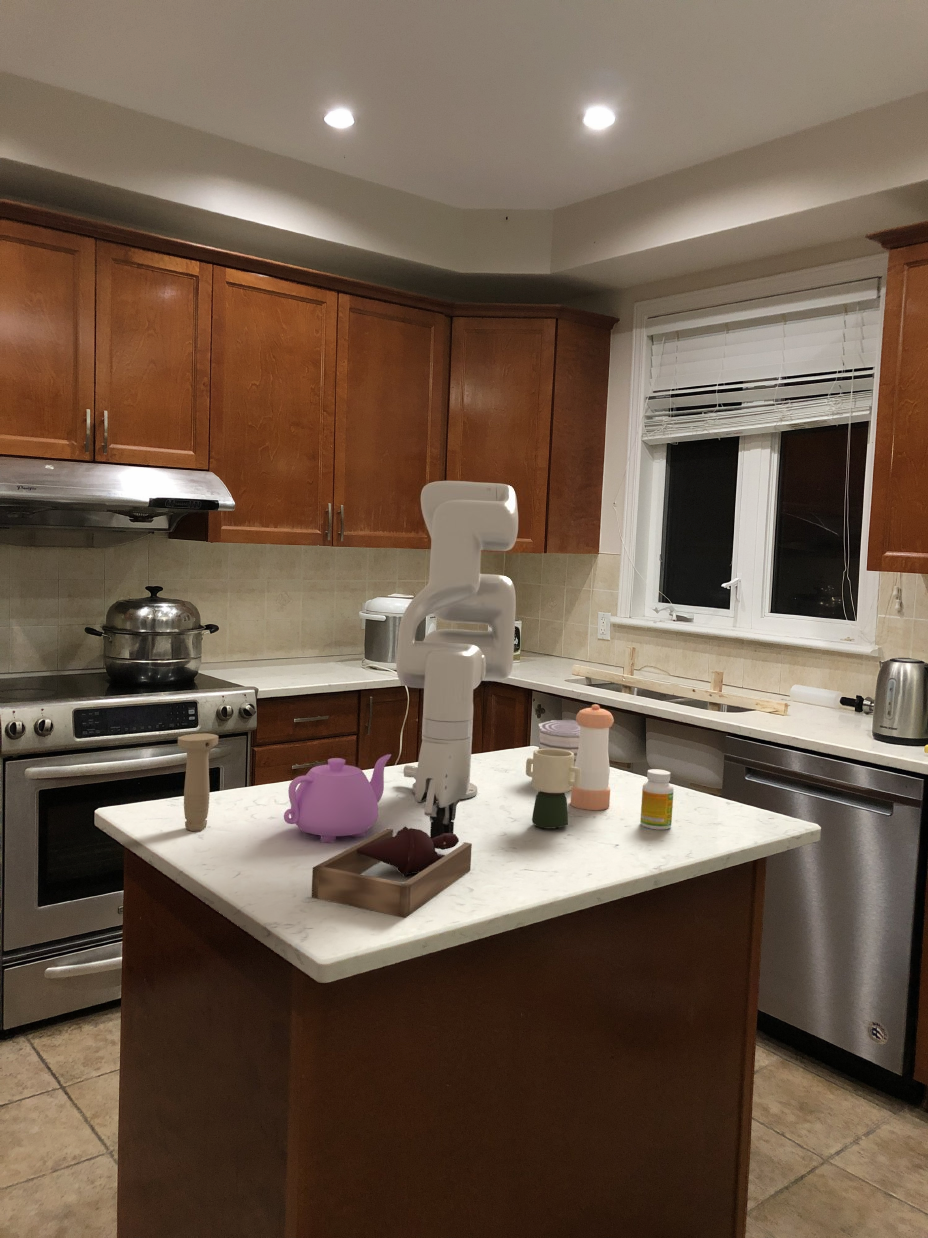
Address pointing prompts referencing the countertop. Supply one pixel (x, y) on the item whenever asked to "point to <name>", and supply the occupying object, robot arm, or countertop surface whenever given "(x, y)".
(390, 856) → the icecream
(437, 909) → the countertop surface
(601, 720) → the salt shaker
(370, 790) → the teapot
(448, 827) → the robot arm
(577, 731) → the can
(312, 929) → the countertop surface
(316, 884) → the frame
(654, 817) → the supplement bottle
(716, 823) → the countertop surface
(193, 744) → the handle
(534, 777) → the character mug
